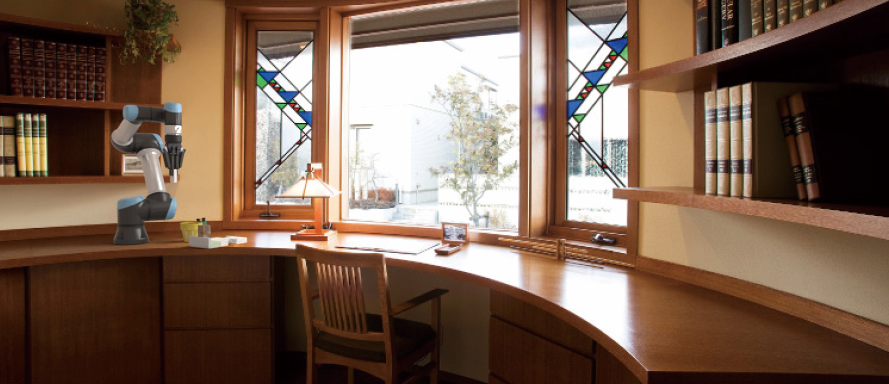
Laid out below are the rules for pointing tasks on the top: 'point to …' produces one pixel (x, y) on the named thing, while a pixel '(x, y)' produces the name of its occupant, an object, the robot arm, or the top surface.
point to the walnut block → (204, 231)
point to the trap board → (214, 241)
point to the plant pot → (189, 229)
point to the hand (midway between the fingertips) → (173, 182)
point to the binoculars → (202, 221)
